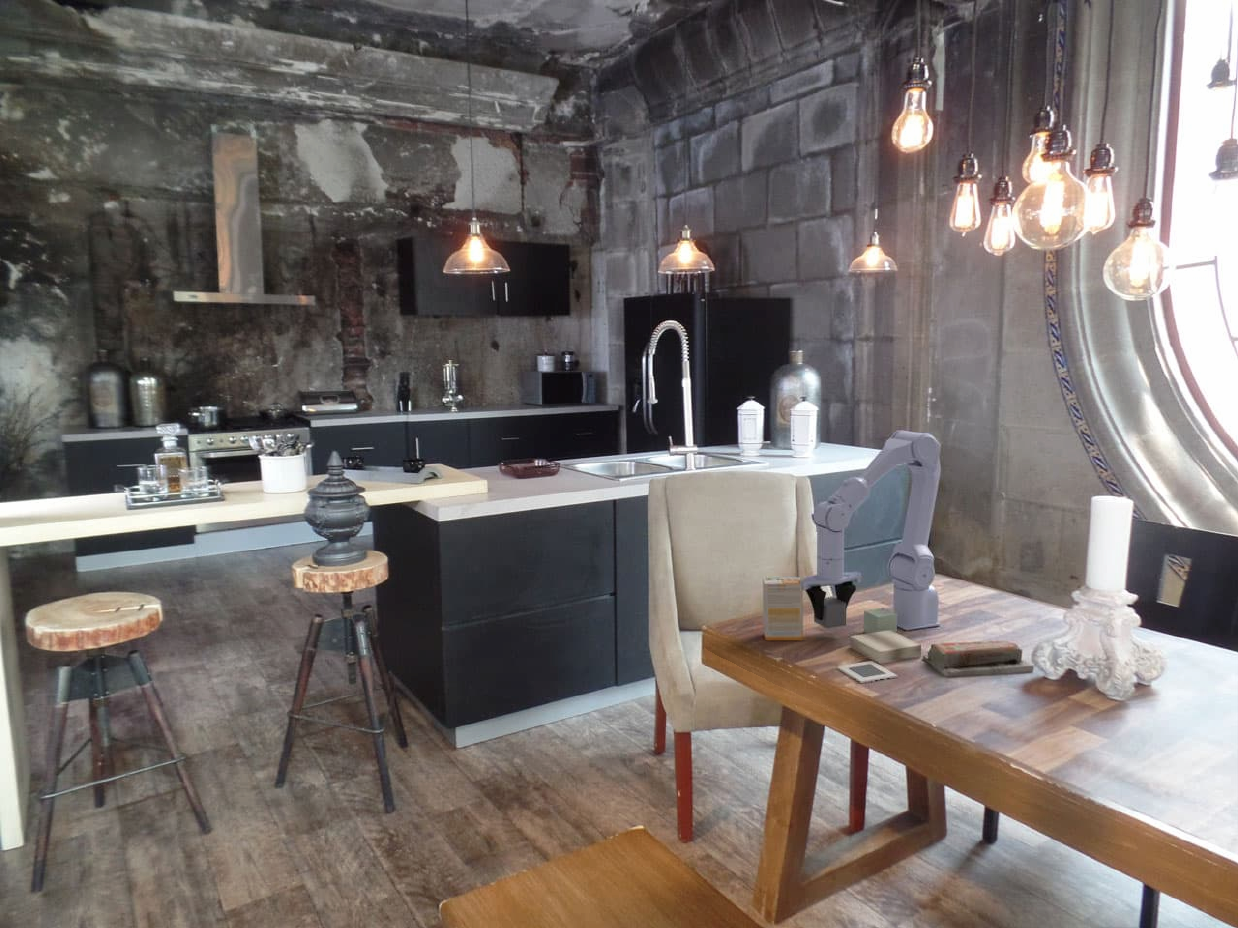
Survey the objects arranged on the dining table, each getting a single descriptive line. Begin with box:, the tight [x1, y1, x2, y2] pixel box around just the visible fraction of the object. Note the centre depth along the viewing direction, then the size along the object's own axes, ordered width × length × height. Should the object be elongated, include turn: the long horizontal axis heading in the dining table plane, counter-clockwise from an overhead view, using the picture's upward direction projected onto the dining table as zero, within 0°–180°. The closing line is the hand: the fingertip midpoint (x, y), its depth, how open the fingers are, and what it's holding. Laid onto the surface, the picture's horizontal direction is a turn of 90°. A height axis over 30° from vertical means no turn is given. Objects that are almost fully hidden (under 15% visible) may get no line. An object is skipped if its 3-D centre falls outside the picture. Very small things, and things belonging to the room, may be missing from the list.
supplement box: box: [762, 577, 804, 641], centre depth 183 cm, size 8×5×13 cm, turn 84°
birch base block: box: [849, 630, 922, 665], centre depth 174 cm, size 10×10×3 cm
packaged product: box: [922, 640, 1035, 678], centre depth 166 cm, size 18×5×10 cm
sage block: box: [863, 607, 898, 634], centre depth 185 cm, size 5×5×5 cm
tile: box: [837, 660, 898, 684], centre depth 163 cm, size 8×8×1 cm
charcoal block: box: [813, 596, 847, 629], centre depth 184 cm, size 5×5×5 cm
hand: (830, 617), depth 184 cm, fingers closed on charcoal block, 5 cm apart
